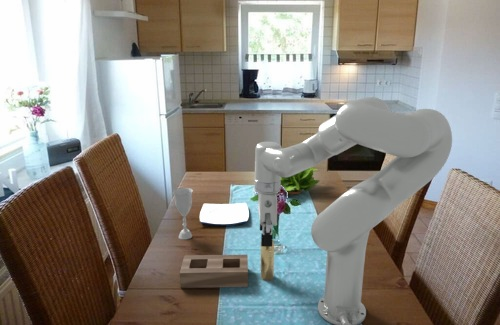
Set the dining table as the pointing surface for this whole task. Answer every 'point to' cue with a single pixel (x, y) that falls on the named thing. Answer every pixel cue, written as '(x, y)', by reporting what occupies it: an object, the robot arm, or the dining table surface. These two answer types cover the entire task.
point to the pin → (267, 262)
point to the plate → (224, 214)
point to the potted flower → (299, 181)
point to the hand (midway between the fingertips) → (265, 237)
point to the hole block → (214, 271)
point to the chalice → (183, 208)
